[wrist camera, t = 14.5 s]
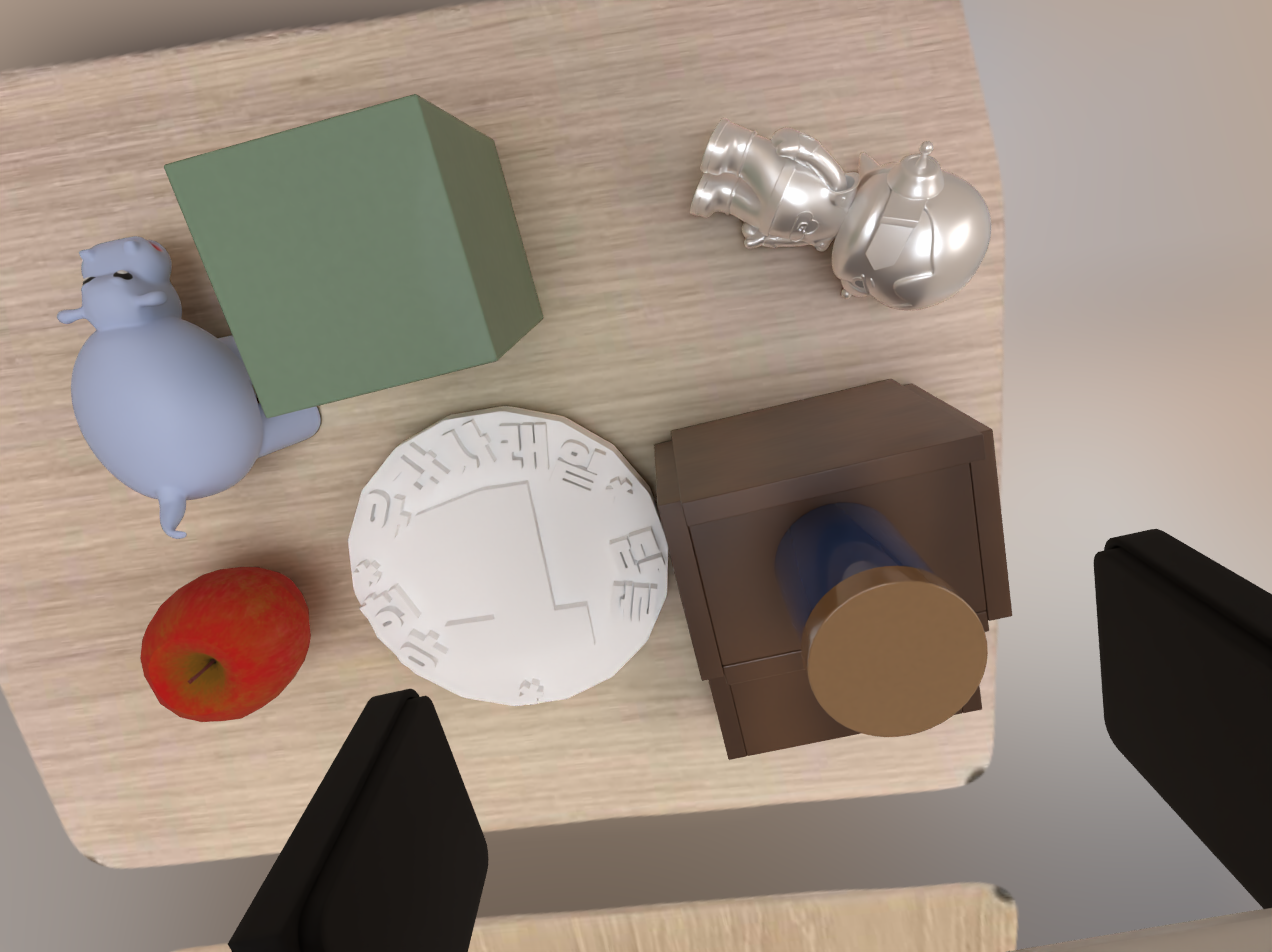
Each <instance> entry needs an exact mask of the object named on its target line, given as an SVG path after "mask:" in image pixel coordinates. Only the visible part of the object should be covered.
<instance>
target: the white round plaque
mask: <svg viewBox="0 0 1272 952" xmlns="http://www.w3.org/2000/svg"><path fill="white" fill-rule="evenodd" d="M348 545H349V554H350V562H351V571H352V580H353V589H354V593H355V595H356V597H357V598H358V600H359V602H360V604H361V607H360V608H359V609H360V610H361V612H362V613H363V614H364V615H365V617H367V618H368V620H369V622H370V624H371V626H372V628H373V630H374V632H375V634H376V635H377V637H378V638H379V639H380V640H381V641H382V642H383V643H384V644H385V645H386V646H387V647H388V648H389V649H390V650H391V651H392V652H393V653H394V654H395V655H396V656H397V657H398V659H399V661H400V662H401V663H402V664H404V665H405V666H407V667H409V668H410V669H411V670H412V671H413V672H414V673H415V674H416V675H418V676H420V677H422V678H424V679H427V680H429V681H431V682H433V683H435V684H437V685H439V686H441V687H443V688H445V689H447V690H449V691H451V692H453V693H455V694H457V695H459V696H461V697H463V698H469V699H475V700H481V701H487V702H493V703H499V704H505V705H511V706H520V705H527V704H530V705H533V704H538V703H542V702H549V701H556V700H564V699H568V698H570V697H572V696H574V695H576V694H578V693H580V692H582V691H584V690H586V689H588V688H590V687H592V686H595V685H597V684H599V683H601V682H603V681H605V680H607V679H609V678H611V677H613V676H614V675H615V674H616V673H617V672H618V671H619V669H620V668H621V667H622V666H623V665H624V664H625V663H626V662H627V661H628V660H629V659H630V658H631V657H632V656H633V655H634V654H635V653H636V652H637V651H638V650H639V649H640V648H641V647H642V646H643V645H644V644H645V643H646V642H647V640H648V638H649V636H650V634H651V631H652V629H653V627H654V624H655V622H656V620H657V617H658V615H659V613H660V610H661V608H662V606H663V603H664V601H665V599H666V596H667V572H668V545H667V541H666V538H665V534H664V530H663V526H662V522H661V518H660V514H659V511H658V508H657V506H656V503H655V500H654V497H653V495H652V492H651V489H650V487H649V485H648V484H647V483H646V482H645V481H644V480H643V478H642V477H641V476H640V475H639V474H638V473H637V471H636V470H635V469H634V468H633V467H632V466H631V464H630V463H629V462H628V461H627V460H626V459H625V457H624V456H623V455H622V454H621V453H620V452H619V450H618V449H617V448H616V447H615V446H614V445H613V444H612V443H610V442H608V441H606V440H605V439H603V438H601V437H599V436H597V435H596V434H594V433H592V432H590V431H589V430H587V429H585V428H583V427H582V426H580V425H578V424H576V423H575V422H573V421H571V420H569V419H568V418H566V417H564V416H560V415H555V414H549V413H544V412H538V411H533V410H527V409H522V408H517V407H511V406H501V407H494V408H488V409H482V410H476V411H470V412H464V413H457V414H451V415H448V416H447V417H445V418H443V419H441V420H440V421H438V422H436V423H434V424H433V425H431V426H429V427H427V428H426V429H424V430H422V431H421V432H419V433H417V434H415V435H414V436H412V437H410V438H408V439H407V440H405V441H403V442H402V443H401V444H399V445H398V446H397V447H396V448H395V449H394V450H393V452H392V453H391V454H390V455H389V457H388V458H387V459H386V460H385V462H384V463H383V464H382V466H381V467H380V468H379V469H378V471H377V472H376V473H375V474H374V476H373V477H372V478H371V479H370V481H369V482H368V483H367V485H366V486H365V487H364V488H363V490H362V492H361V495H360V499H359V503H358V506H357V510H356V513H355V517H354V520H353V524H352V528H351V531H350V535H349V538H348Z"/></svg>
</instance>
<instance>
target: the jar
mask: <svg viewBox="0 0 1272 952" xmlns="http://www.w3.org/2000/svg"><path fill="white" fill-rule="evenodd" d="M774 570H775V578H776V581H777V585H778V587H779V590H780V593H781V595H782V598H783V601H784V603H785V606H786V608H787V611H788V614H789V616H790V619H791V622H792V624H793V627H794V630H795V632H796V635H797V637H798V640H799V643H800V645H801V656H802V663H803V666H804V670H805V673H806V675H807V678H808V681H809V684H810V686H811V689H812V691H813V693H814V696H815V698H816V699H817V701H818V702H819V704H820V705H821V707H822V708H823V709H824V710H825V711H826V712H827V714H829V715H830V716H831V717H832V718H833V719H835V720H836V721H837V722H839V723H841V724H842V725H844V726H845V727H847V728H850V729H852V730H854V731H857V732H860V733H863V734H867V735H872V736H880V737H899V736H906V735H911V734H915V733H919V732H922V731H925V730H928V729H930V728H933V727H935V726H937V725H939V724H941V723H942V722H944V721H945V720H947V719H949V718H950V717H952V716H953V715H954V714H955V713H956V712H958V711H959V710H960V709H961V708H962V707H963V706H964V705H965V704H966V703H967V702H968V701H969V699H970V698H971V697H972V695H973V694H974V693H975V691H976V689H977V688H978V686H979V684H980V682H981V679H982V677H983V675H984V671H985V667H986V663H987V654H988V652H987V640H986V635H985V631H984V628H983V626H982V623H981V621H980V619H979V618H978V616H977V614H976V613H975V612H974V610H973V609H972V608H971V607H970V605H969V604H968V603H967V602H966V601H965V600H964V598H963V597H962V596H961V595H960V594H959V593H958V591H957V590H956V589H954V588H953V587H952V586H951V585H950V584H949V583H948V582H946V581H945V580H943V579H942V578H940V577H938V576H937V575H936V574H935V573H934V571H933V570H932V569H931V568H930V567H929V565H928V564H927V563H926V562H925V561H924V560H923V558H922V557H921V556H920V555H919V554H918V553H917V551H916V550H915V549H914V548H913V547H912V545H911V544H910V543H909V542H908V541H907V540H906V538H905V537H904V536H903V535H902V534H901V532H900V531H899V530H898V529H897V528H896V527H895V525H894V524H893V523H892V522H891V521H890V520H889V519H888V518H887V517H886V516H885V515H883V514H882V513H880V512H879V511H877V510H875V509H873V508H871V507H868V506H865V505H861V504H857V503H847V502H845V503H833V504H828V505H824V506H821V507H818V508H816V509H814V510H812V511H810V512H808V513H806V514H805V515H803V516H802V517H800V518H799V519H798V520H797V521H796V522H795V523H794V524H792V525H791V527H790V528H789V529H788V530H787V531H786V533H785V534H784V536H783V538H782V539H781V541H780V544H779V546H778V549H777V552H776V556H775V567H774Z"/></svg>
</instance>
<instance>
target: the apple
mask: <svg viewBox="0 0 1272 952" xmlns="http://www.w3.org/2000/svg"><path fill="white" fill-rule="evenodd" d="M310 637H311V634H310V625H309V611H308V607H307V604H306V602H305V600H304V597H303V595H302V593H301V592H300V590H299V589H298V588H297V586H296V585H295V584H294V582H293V581H292V580H291V579H289V578H288V577H286V576H285V575H283V574H281V573H279V572H275V571H271V570H267V569H264V568H260V567H237V568H228V569H220V570H217V571H214V572H210V573H207V574H204V575H202V576H200V577H198V578H197V579H195V580H193V581H192V582H190V583H188V584H187V585H185V586H183V587H182V588H180V589H178V590H177V591H176V592H175V593H174V594H173V595H172V596H171V597H169V598H168V599H167V600H166V601H165V602H164V603H163V604H162V605H161V606H160V608H159V609H158V611H157V612H156V614H155V615H154V617H153V619H152V620H151V622H150V623H149V625H148V627H147V629H146V632H145V634H144V637H143V640H142V649H141V658H140V659H141V663H142V668H143V672H144V676H145V678H146V680H147V681H148V683H149V685H150V687H151V688H152V690H153V692H154V694H155V695H156V697H157V699H158V701H159V702H160V704H162V705H163V706H165V707H166V708H167V709H169V710H170V711H172V712H173V713H175V714H176V715H178V716H179V717H182V718H186V719H191V720H195V721H199V722H210V721H226V720H234V719H241V718H243V717H245V716H247V715H249V714H251V713H253V712H254V711H256V710H258V709H260V708H262V707H263V706H265V705H266V704H267V703H269V702H270V701H272V700H273V699H274V698H276V697H277V696H278V695H279V694H280V693H281V692H282V691H283V690H284V688H285V687H286V686H287V685H288V684H289V683H290V682H291V680H292V679H293V678H294V677H295V675H296V674H297V672H298V670H299V669H300V667H301V665H302V664H303V662H304V660H305V658H306V654H307V651H308V648H309V643H310Z"/></svg>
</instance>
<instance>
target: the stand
mask: <svg viewBox="0 0 1272 952" xmlns="http://www.w3.org/2000/svg"><path fill="white" fill-rule="evenodd" d="M164 169H165V171H166V174H167V176H168V178H169V181H170V183H171V186H172V188H173V191H174V193H175V196H176V198H177V201H178V203H179V205H180V208H181V210H182V213H183V215H184V218H185V220H186V223H187V225H188V227H189V230H190V232H191V235H192V237H193V240H194V242H195V245H196V247H197V250H198V252H199V254H200V257H201V259H202V262H203V264H204V267H205V269H206V272H207V274H208V277H209V279H210V281H211V284H212V286H213V289H214V291H215V294H216V296H217V299H218V301H219V303H220V306H221V308H222V311H223V313H224V316H225V318H226V321H227V323H228V326H229V328H230V330H231V333H232V335H233V338H234V340H235V343H236V345H237V348H238V350H239V352H240V355H241V357H242V360H243V362H244V365H245V367H246V370H247V372H248V375H249V377H250V379H251V382H252V384H253V387H254V389H255V392H256V394H257V397H258V399H259V401H260V404H261V406H262V409H263V411H264V414H265V416H266V418H271V417H275V416H279V415H283V414H287V413H291V412H295V411H299V410H303V409H307V408H311V407H315V406H319V405H323V404H327V403H331V402H335V401H339V400H343V399H347V398H351V397H355V396H359V395H363V394H367V393H371V392H375V391H379V390H383V389H387V388H391V387H395V386H399V385H403V384H407V383H411V382H415V381H419V380H423V379H427V378H431V377H435V376H439V375H443V374H447V373H451V372H455V371H459V370H463V369H467V368H471V367H475V366H479V365H483V364H487V363H492V362H496V361H497V360H498V359H499V358H501V357H502V356H503V355H504V354H505V353H506V352H507V351H508V350H509V349H510V348H511V347H513V346H514V345H515V344H516V343H517V342H518V341H519V340H520V339H521V338H522V337H524V336H525V335H526V334H527V333H528V332H529V331H530V330H531V329H532V328H533V327H534V326H536V325H537V324H538V323H539V322H540V321H541V320H542V319H543V314H542V311H541V307H540V304H539V300H538V297H537V293H536V289H535V286H534V282H533V279H532V275H531V272H530V268H529V265H528V261H527V257H526V254H525V250H524V247H523V243H522V240H521V236H520V233H519V229H518V225H517V222H516V218H515V215H514V211H513V208H512V204H511V200H510V197H509V193H508V190H507V186H506V183H505V179H504V176H503V172H502V168H501V165H500V161H499V158H498V154H497V151H496V147H495V144H494V141H493V139H491V138H489V137H487V136H486V135H484V134H482V133H481V132H479V131H477V130H476V129H474V128H472V127H471V126H469V125H467V124H465V123H464V122H462V121H460V120H459V119H457V118H455V117H454V116H452V115H450V114H449V113H447V112H445V111H443V110H442V109H440V108H438V107H437V106H435V105H433V104H432V103H430V102H428V101H427V100H425V99H423V98H421V97H420V96H418V95H416V94H414V95H410V96H407V97H403V98H400V99H396V100H392V101H389V102H385V103H382V104H378V105H375V106H371V107H368V108H364V109H361V110H357V111H354V112H350V113H346V114H343V115H339V116H336V117H332V118H329V119H325V120H322V121H318V122H315V123H311V124H308V125H304V126H300V127H297V128H293V129H290V130H286V131H283V132H279V133H276V134H272V135H269V136H265V137H261V138H258V139H254V140H251V141H247V142H244V143H240V144H237V145H233V146H230V147H226V148H223V149H219V150H215V151H212V152H208V153H205V154H201V155H198V156H194V157H191V158H187V159H184V160H180V161H177V162H173V163H169V164H166V165H164Z"/></svg>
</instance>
